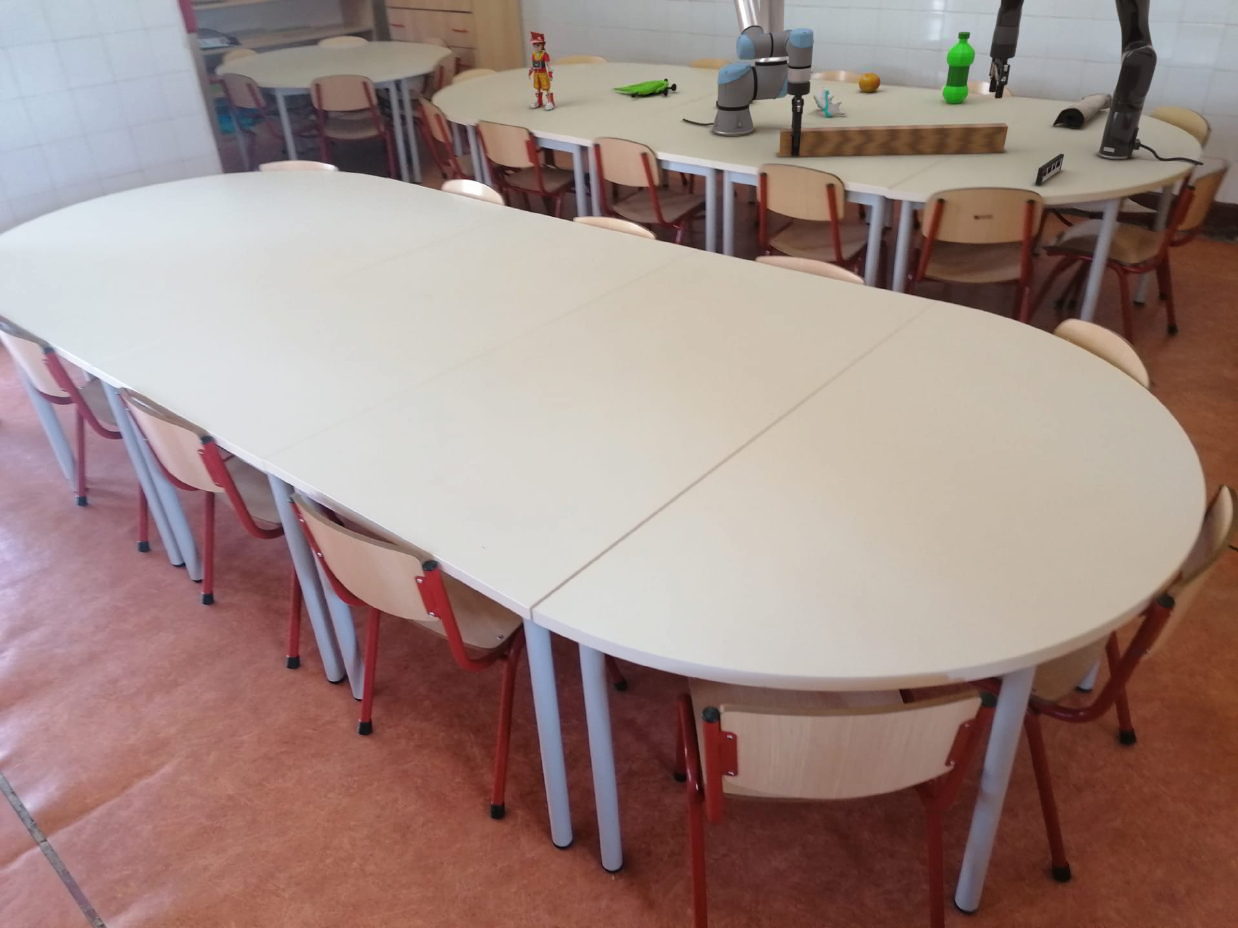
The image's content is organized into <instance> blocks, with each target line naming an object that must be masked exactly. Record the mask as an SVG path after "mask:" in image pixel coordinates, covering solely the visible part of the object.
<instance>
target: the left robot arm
mask: <svg viewBox="0 0 1238 928" xmlns="http://www.w3.org/2000/svg"><path fill="white" fill-rule="evenodd" d="M733 2H734V3H733V4H734V7H735V12H736V18H737V23H738V28H739V32H740V35H738V36H737V38H736V43H735V49H736V56H737V58H738V59H739V60H741V61H739V62H737V61H736V62H732V63H727V64H726V65H723V66H722V67H720V69H719V70H718V75H717V100H718V107H717V111H716V114H715V118H714V120H713V122H707V123H705V122H698V121H697V122H696V121H692V120H689V119H686V118H682V121H683V122H687V123H690V124H694V125H698V126H712V133H713V134H715V135H717V136H721V137H741V136H746V135H750V134H752V133H754V122H753V118H752V115H751V111H750V103H749V102H750V101H753V102H754V101H766V100H776V99H782V98H785V97H786V96H787V95H789V96H793V97H792V98H791V113H792V114H791V125H790V128H793V134H792V135H791V136H792V147H791V156H798V157H800V156H799V150H800V136H801V128H802V121H803V120H802V118H803V113H804V106H805V99H804V98H803V96H808V95H809V94H810V92H811V78H812V74H813V73H814V70H813V69H812V67H813V66H812V64H813V50H814V43H815V39H814V30H813V29H811V28H808V27H807V28H806V27H802V28H801V27H799V28H794V29H789V28H787V29H785V0H759V1H758V0H733ZM742 60H744V61H742ZM748 61H754V65H753V66H752V65H751V63H750V62H748Z"/></svg>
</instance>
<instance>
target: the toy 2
mask: <svg viewBox="0 0 1238 928" xmlns="http://www.w3.org/2000/svg"><path fill="white" fill-rule="evenodd" d="M669 85H670V83H669V79H668V78H664V79H663V80H649V81H644V82H640V83H634V84H629V85H627V86H621V87H613V88H612V89H613V90H616V91H619V92H623V93H627V94H628V93H629V94H631V95H630V96H631V98H632V99H634V98H636V96H637V95H650V94H652V93H654V94H658V93H662V95H663V96H665V97H667V96H668V95H669V90H671V91H672V92H676V91H677V84H676V83H672V84H671V86H669Z"/></svg>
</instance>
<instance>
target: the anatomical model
mask: <svg viewBox="0 0 1238 928" xmlns="http://www.w3.org/2000/svg"><path fill="white" fill-rule="evenodd" d="M829 95H830V91H829V90H828V89H827V87H824V86H823V87H822V88H821V90H819V92H815V93H814V94H813V99H814V101H815V104H816V107H817V108H818V109H820V110H822V111H823V112H824V115H825V116H826V117H827V118H833V117H835V116H845V115H846V111H845V110H844V111H843V110H841V109H840V106H841V104H843V102H842V101H841V100H839V101H837V102H835V103H832V100H833V99H834V97H835V95H834V94H833V95H831V96H829Z"/></svg>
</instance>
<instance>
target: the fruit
mask: <svg viewBox="0 0 1238 928" xmlns="http://www.w3.org/2000/svg"><path fill="white" fill-rule="evenodd" d="M880 85H881V78H880V76H879V75H878V74H876V73H873V72H869V73H864V74H863V75H862V76H860V78H859V80H858V88H859V89H860V90H861V91H862V92H864V93H873V92H875V91H877V90H878V89H879V87H880Z"/></svg>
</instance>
